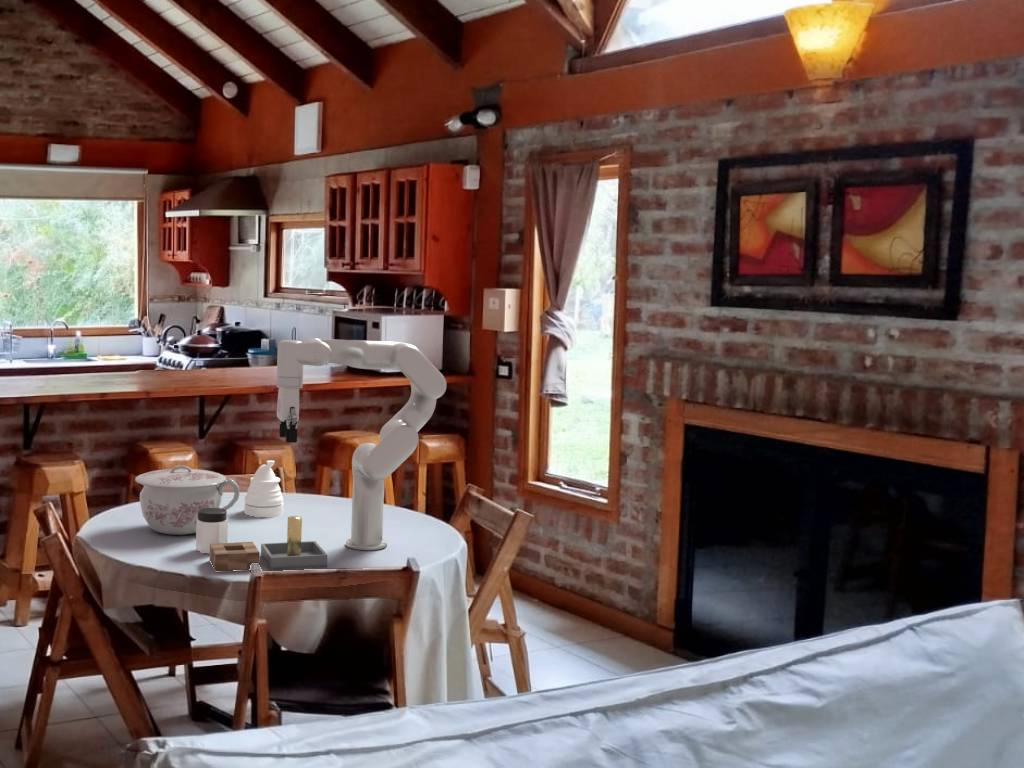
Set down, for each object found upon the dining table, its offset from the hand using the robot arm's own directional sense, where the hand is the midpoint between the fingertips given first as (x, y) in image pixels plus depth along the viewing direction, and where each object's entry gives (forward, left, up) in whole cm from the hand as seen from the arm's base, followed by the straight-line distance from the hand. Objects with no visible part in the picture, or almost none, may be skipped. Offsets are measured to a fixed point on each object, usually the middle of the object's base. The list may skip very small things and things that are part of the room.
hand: (288, 439), depth 341 cm
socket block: (+14, -17, -33) cm, 40 cm away
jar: (-3, -21, -34) cm, 40 cm away
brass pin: (+13, 0, -32) cm, 35 cm away
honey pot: (-48, +2, -34) cm, 59 cm away
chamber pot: (-29, -27, -34) cm, 52 cm away
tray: (+13, 0, -33) cm, 36 cm away
